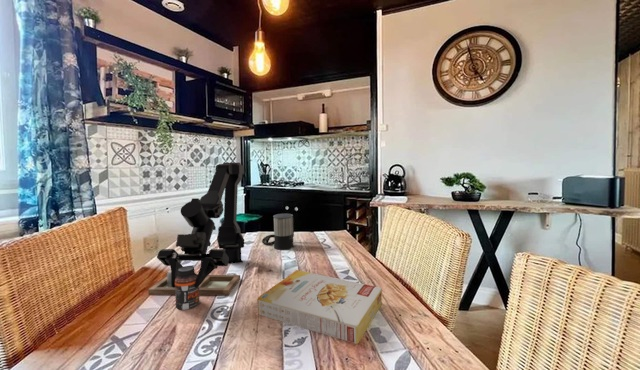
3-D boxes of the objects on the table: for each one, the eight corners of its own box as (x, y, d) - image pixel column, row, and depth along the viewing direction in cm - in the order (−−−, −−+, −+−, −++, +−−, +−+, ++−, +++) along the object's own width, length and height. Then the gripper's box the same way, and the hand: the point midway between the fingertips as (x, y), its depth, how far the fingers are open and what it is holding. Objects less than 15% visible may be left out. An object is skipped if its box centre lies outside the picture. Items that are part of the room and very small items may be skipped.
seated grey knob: (173, 282, 94) (172, 266, 94) (188, 282, 94) (187, 266, 93) (164, 289, 89) (163, 272, 89) (180, 289, 89) (179, 272, 88)
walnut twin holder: (169, 281, 97) (169, 274, 97) (240, 282, 96) (240, 275, 96) (148, 297, 86) (148, 289, 86) (228, 298, 85) (228, 290, 85)
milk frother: (292, 250, 129) (292, 217, 128) (257, 250, 129) (256, 217, 128) (296, 241, 143) (295, 211, 142) (264, 241, 143) (263, 211, 142)
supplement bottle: (191, 315, 76) (188, 273, 75) (171, 312, 78) (168, 271, 77) (204, 303, 82) (202, 264, 81) (185, 302, 83) (183, 263, 82)
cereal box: (296, 268, 93) (383, 284, 81) (296, 285, 94) (383, 303, 82) (255, 297, 75) (359, 323, 63) (256, 317, 76) (359, 347, 64)
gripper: (158, 221, 82) (134, 275, 72) (223, 221, 81) (208, 275, 71) (175, 240, 91) (155, 291, 81) (234, 240, 90) (222, 291, 80)
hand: (184, 287), depth 78 cm, fingers closed on supplement bottle, 6 cm apart
